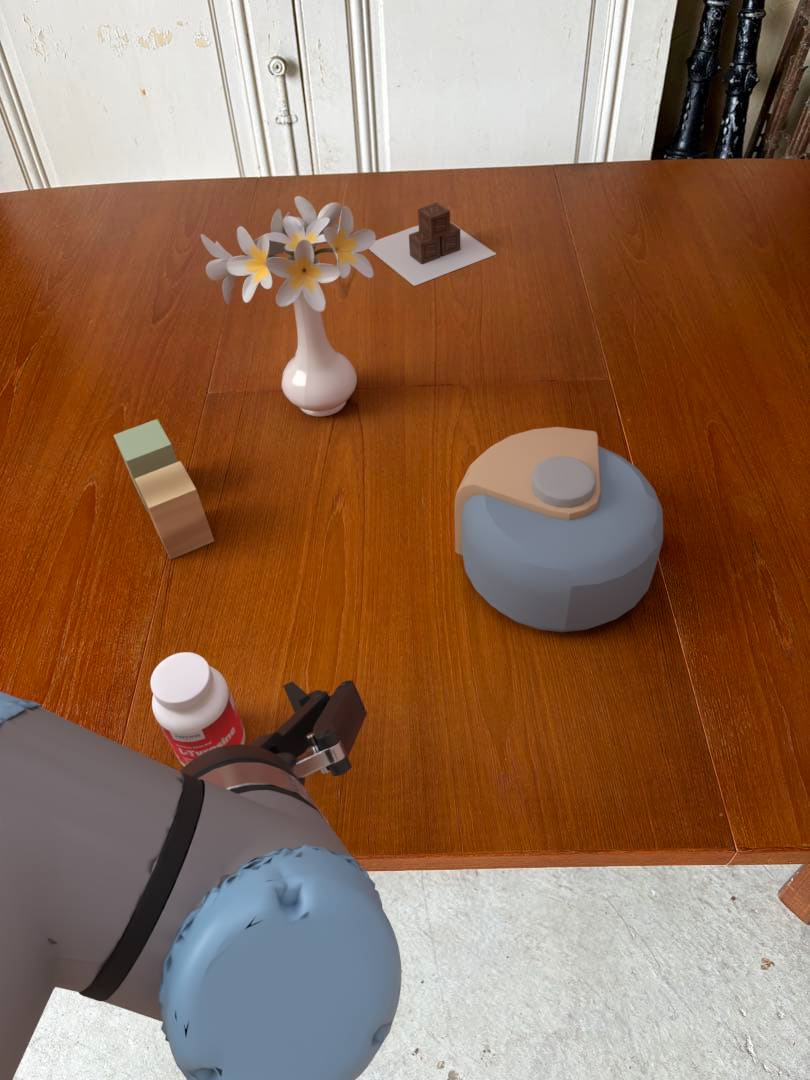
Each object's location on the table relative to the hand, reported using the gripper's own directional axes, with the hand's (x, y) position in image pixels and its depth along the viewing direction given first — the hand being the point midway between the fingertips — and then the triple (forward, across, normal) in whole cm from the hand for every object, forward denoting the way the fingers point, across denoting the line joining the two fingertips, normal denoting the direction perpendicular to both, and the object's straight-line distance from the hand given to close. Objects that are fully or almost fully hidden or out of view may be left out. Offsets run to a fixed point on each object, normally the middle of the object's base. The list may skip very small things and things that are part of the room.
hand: (209, 741), depth 59 cm
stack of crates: (+58, +58, +41) cm, 92 cm away
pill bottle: (+13, 0, -4) cm, 14 cm away
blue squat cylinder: (+14, +38, -2) cm, 40 cm away
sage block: (+37, +6, +20) cm, 42 cm away
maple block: (+31, +6, +14) cm, 35 cm away
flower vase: (+40, +28, +23) cm, 54 cm away
